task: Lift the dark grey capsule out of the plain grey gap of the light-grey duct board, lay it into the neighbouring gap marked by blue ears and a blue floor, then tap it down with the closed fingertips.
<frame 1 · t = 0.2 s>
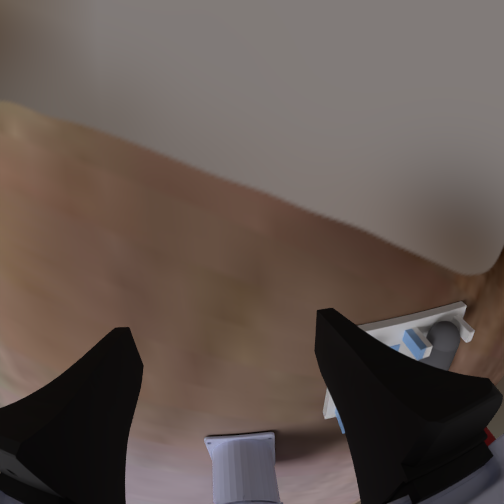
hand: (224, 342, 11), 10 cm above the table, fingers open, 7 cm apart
duct board: (395, 361, 26), on the table
dark grey capsule: (423, 360, 25), point 1 cm above the table, touching duct board
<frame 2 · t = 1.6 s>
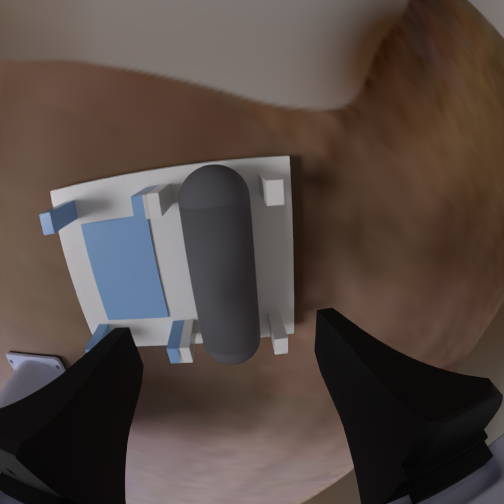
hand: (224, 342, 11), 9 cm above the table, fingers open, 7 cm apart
duct board: (174, 261, 18), on the table
dark grey capsule: (223, 262, 18), point 1 cm above the table, touching duct board
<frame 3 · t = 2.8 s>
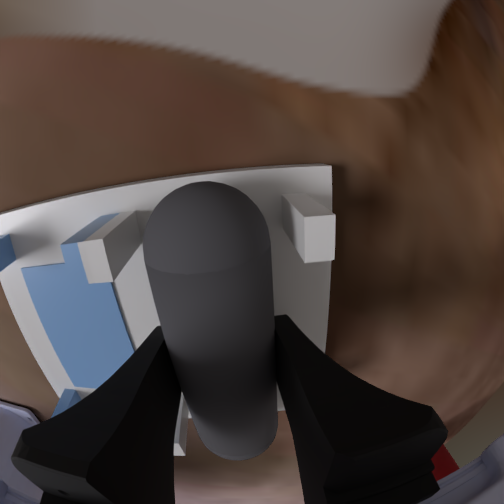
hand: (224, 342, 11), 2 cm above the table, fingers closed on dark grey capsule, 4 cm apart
duct board: (152, 320, 12), on the table
paper cup: (410, 446, 21), on the table
dark grey capsule: (223, 328, 11), point 1 cm above the table, touching duct board, gripper
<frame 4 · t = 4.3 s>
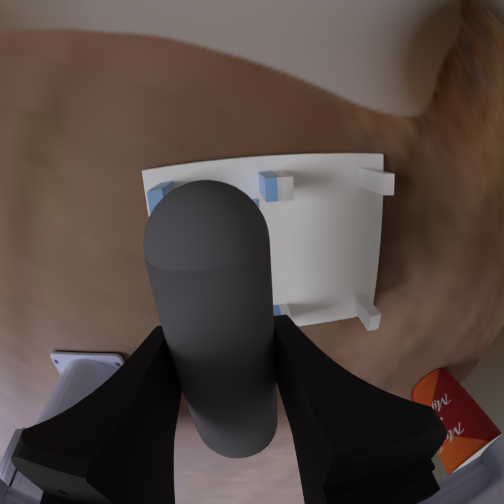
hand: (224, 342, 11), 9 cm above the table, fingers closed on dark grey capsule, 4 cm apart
duct board: (272, 246, 19), on the table
paper cup: (428, 384, 28), on the table
dark grey capsule: (226, 326, 11), point 8 cm above the table, touching gripper
when the fingers open (3 cm above the table, at t = 5.8 s): dark grey capsule stays where it is, resting on duct board.
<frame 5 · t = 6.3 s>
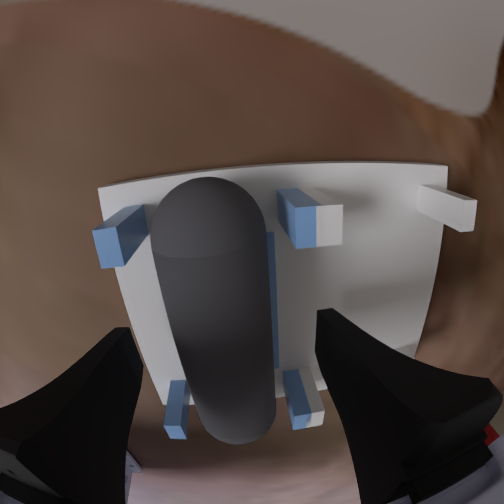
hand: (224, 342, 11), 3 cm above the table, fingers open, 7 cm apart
duct board: (292, 295, 13), on the table
dark grey capsule: (226, 315, 12), point 1 cm above the table, touching duct board
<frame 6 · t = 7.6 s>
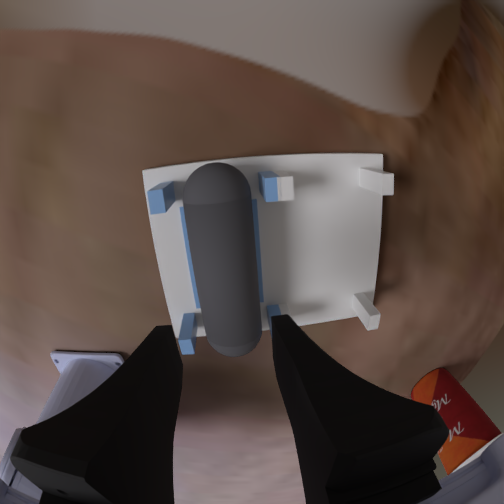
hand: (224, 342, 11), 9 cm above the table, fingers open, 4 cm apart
duct board: (272, 246, 19), on the table
paper cup: (428, 383, 28), on the table
dark grey capsule: (225, 257, 18), point 1 cm above the table, touching duct board
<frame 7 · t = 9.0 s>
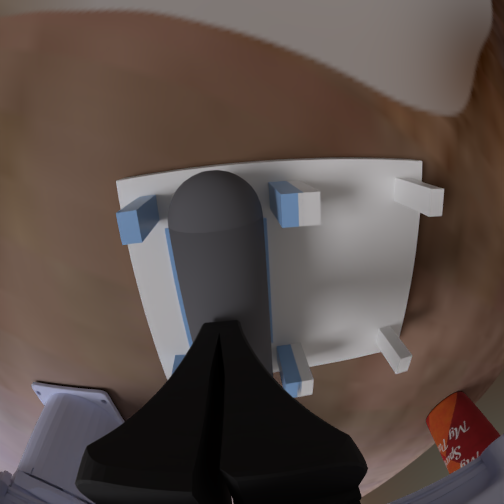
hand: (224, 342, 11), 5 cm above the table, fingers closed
duct board: (284, 275, 15), on the table
paper cup: (444, 407, 24), on the table
dark grey capsule: (225, 292, 14), point 1 cm above the table, touching duct board
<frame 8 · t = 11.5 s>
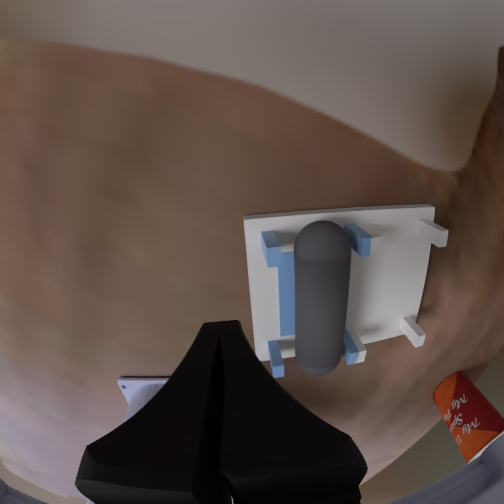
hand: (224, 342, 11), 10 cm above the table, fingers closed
duct board: (344, 282, 22), on the table
paper cup: (447, 385, 31), on the table
dark grey capsule: (311, 294, 21), point 1 cm above the table, tilted 7°, touching duct board
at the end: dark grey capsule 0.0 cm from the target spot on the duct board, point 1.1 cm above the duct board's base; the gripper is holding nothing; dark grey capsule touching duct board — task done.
